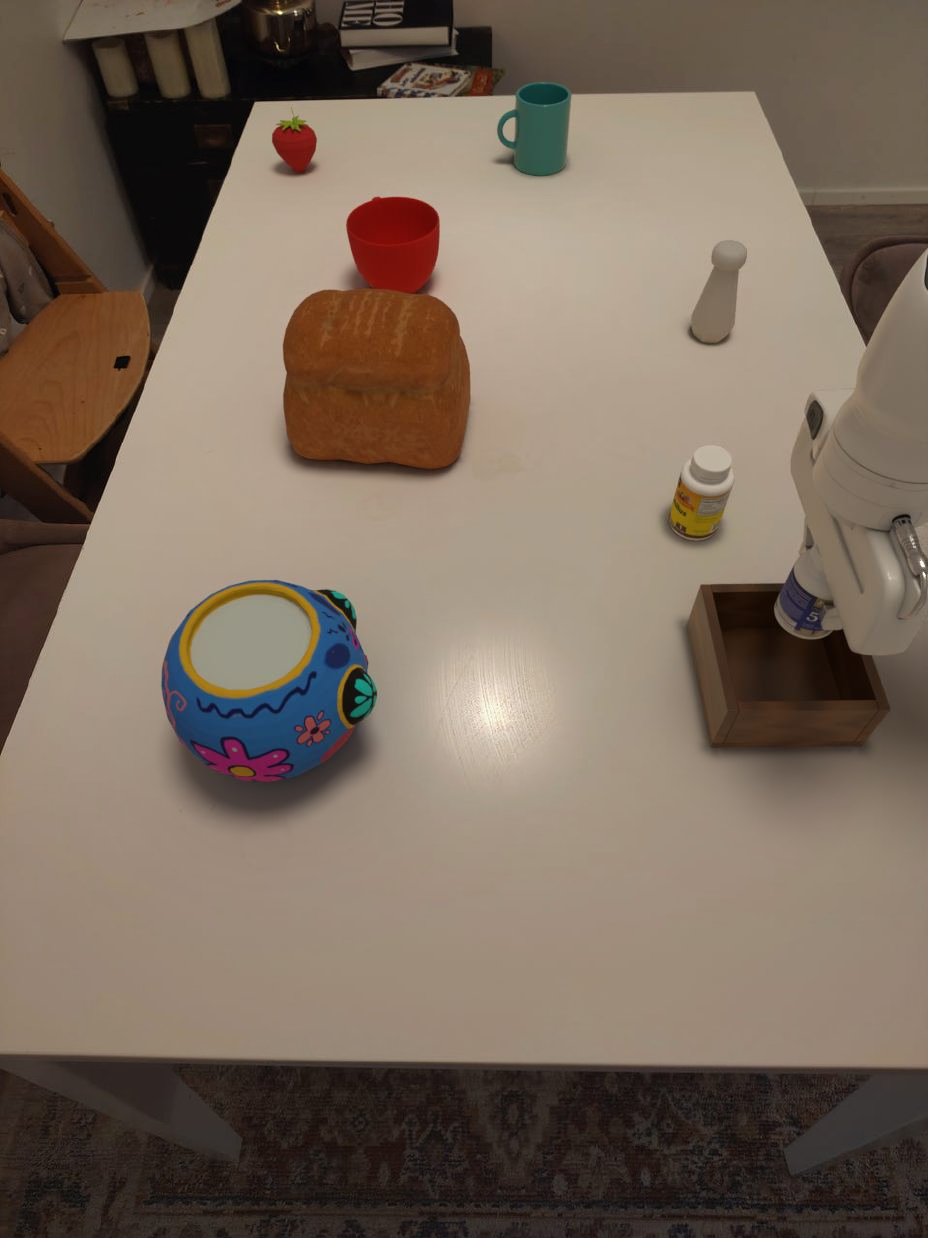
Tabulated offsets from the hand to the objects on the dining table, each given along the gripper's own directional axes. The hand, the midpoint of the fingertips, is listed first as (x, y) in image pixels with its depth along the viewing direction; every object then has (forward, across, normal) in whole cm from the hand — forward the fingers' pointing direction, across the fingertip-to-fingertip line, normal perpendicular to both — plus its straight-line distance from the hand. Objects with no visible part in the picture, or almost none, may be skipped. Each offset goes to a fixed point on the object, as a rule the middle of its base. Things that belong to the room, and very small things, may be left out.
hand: (818, 590), depth 69 cm
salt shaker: (+15, +56, -4) cm, 58 cm away
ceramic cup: (+15, +71, +40) cm, 83 cm away
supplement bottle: (+15, +21, +4) cm, 26 cm away
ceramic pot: (+15, -4, +47) cm, 49 cm away
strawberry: (+15, +104, +58) cm, 120 cm away
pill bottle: (+4, 0, 0) cm, 4 cm away
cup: (+15, +105, +18) cm, 108 cm away
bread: (+15, +38, +40) cm, 57 cm away
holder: (+15, 0, 0) cm, 15 cm away
